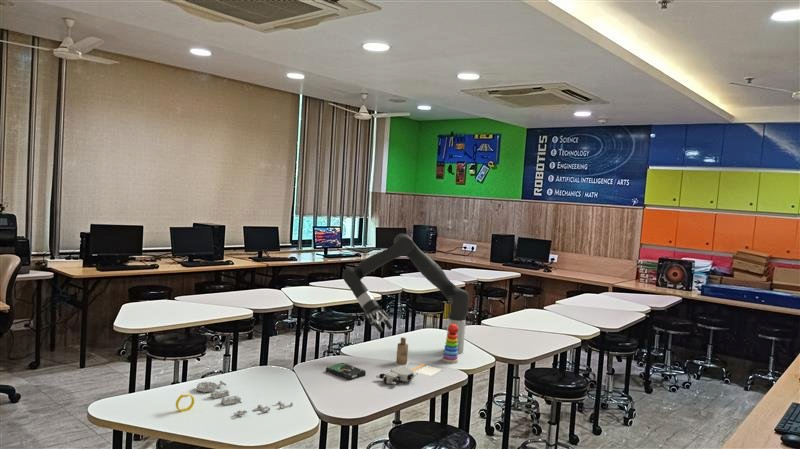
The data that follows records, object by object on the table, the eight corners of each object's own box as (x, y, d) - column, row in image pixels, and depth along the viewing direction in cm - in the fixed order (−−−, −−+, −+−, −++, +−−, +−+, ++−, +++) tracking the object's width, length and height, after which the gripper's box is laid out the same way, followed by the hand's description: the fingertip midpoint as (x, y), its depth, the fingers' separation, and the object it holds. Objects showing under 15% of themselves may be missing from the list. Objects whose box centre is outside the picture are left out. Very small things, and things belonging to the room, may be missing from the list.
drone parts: (248, 380, 220) (249, 372, 220) (295, 409, 195) (296, 400, 195) (193, 389, 204) (193, 381, 204) (236, 422, 179) (237, 412, 179)
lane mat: (398, 358, 261) (398, 357, 261) (444, 369, 249) (444, 368, 249) (382, 365, 248) (382, 364, 248) (430, 378, 236) (430, 376, 236)
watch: (178, 414, 181) (177, 397, 180) (174, 411, 183) (174, 395, 182) (195, 409, 185) (195, 392, 185) (191, 406, 187) (191, 390, 187)
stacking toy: (453, 365, 257) (456, 326, 256) (438, 361, 261) (441, 323, 260) (460, 361, 263) (463, 324, 263) (446, 358, 268) (449, 321, 267)
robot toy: (394, 391, 219) (418, 381, 230) (394, 380, 219) (419, 371, 229) (374, 382, 228) (398, 373, 238) (374, 372, 227) (398, 363, 238)
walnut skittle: (399, 360, 256) (401, 336, 256) (408, 363, 254) (410, 338, 253) (394, 363, 252) (396, 338, 251) (403, 365, 249) (405, 340, 249)
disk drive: (365, 377, 233) (341, 368, 242) (366, 370, 233) (342, 362, 242) (349, 382, 225) (325, 372, 234) (349, 375, 225) (325, 366, 234)
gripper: (364, 300, 255) (383, 328, 249) (380, 296, 267) (398, 323, 262) (355, 309, 257) (373, 337, 252) (371, 305, 270) (389, 331, 265)
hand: (386, 330), depth 257 cm, fingers open, 8 cm apart
